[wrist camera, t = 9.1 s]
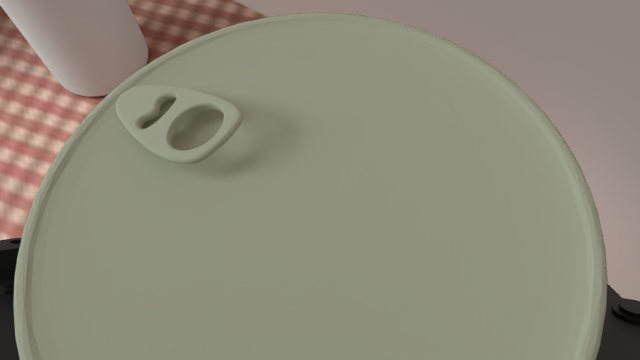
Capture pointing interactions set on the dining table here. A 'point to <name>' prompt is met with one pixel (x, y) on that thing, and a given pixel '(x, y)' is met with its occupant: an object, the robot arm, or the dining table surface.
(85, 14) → the pill bottle
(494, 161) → the can
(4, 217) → the dining table surface
